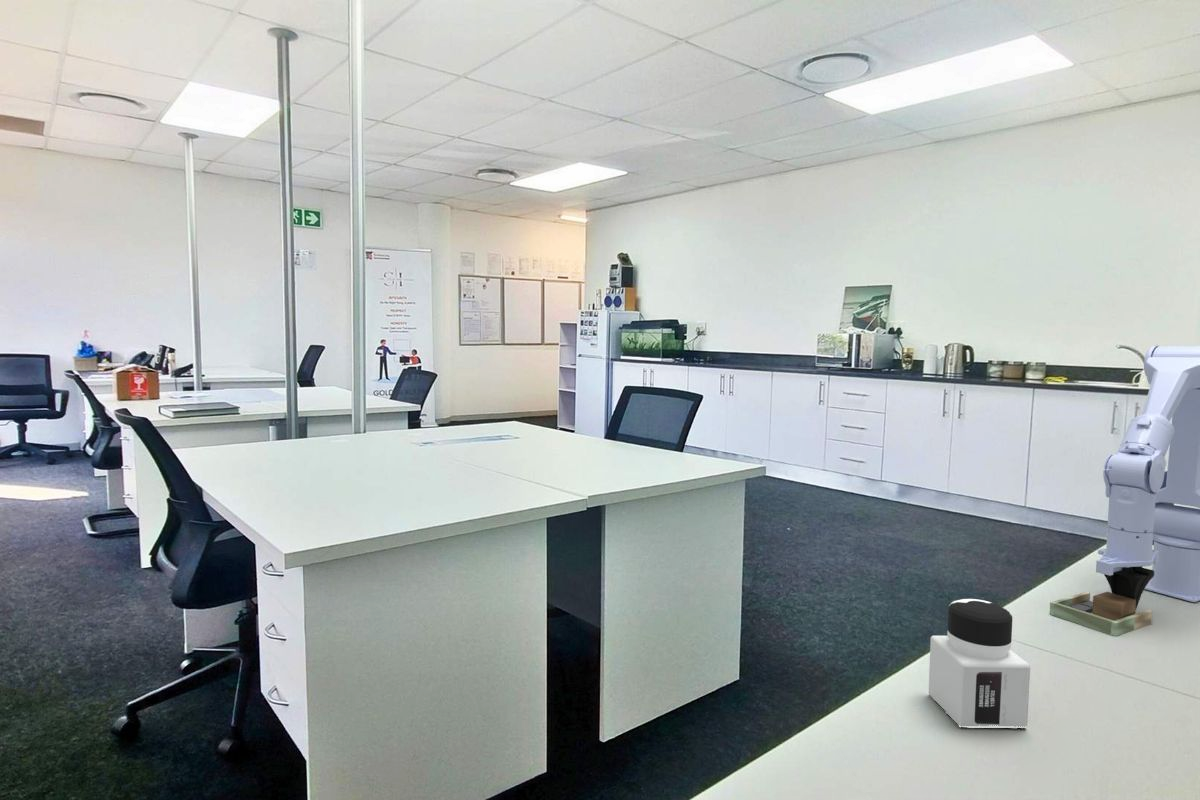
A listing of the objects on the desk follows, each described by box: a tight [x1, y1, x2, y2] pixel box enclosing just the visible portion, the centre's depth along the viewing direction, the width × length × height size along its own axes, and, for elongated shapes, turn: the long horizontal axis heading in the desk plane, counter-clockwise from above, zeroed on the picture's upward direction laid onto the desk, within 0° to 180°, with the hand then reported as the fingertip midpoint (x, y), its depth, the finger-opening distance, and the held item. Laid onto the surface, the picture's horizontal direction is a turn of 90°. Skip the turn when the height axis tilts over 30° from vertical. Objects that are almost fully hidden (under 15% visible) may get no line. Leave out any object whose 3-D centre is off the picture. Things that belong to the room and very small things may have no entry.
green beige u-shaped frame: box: [1049, 591, 1153, 637], centre depth 106 cm, size 10×9×2 cm
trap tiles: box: [1071, 600, 1093, 614], centre depth 110 cm, size 6×2×1 cm, turn 117°
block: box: [1091, 591, 1137, 621], centre depth 105 cm, size 4×4×4 cm
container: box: [928, 598, 1031, 727], centre depth 78 cm, size 8×8×13 cm
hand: (1125, 611), depth 106 cm, fingers closed
